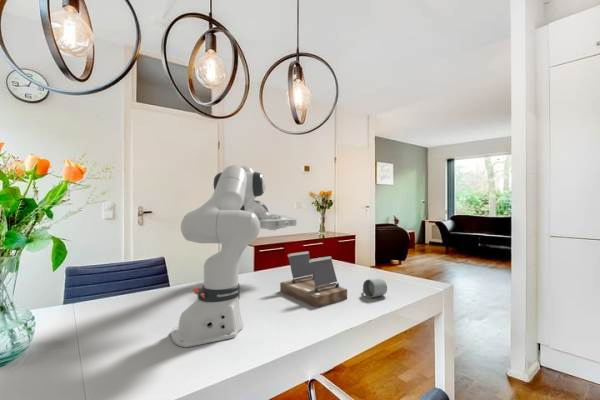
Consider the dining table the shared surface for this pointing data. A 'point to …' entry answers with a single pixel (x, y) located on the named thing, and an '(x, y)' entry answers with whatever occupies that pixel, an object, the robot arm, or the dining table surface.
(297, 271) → the grey board
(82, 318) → the dining table surface
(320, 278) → the lever slate
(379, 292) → the ceramic mug
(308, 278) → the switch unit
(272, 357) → the dining table surface
